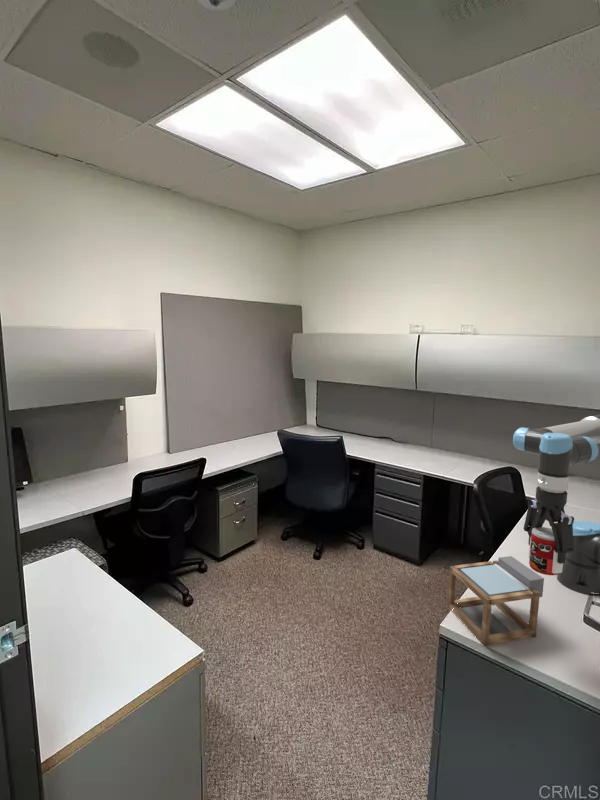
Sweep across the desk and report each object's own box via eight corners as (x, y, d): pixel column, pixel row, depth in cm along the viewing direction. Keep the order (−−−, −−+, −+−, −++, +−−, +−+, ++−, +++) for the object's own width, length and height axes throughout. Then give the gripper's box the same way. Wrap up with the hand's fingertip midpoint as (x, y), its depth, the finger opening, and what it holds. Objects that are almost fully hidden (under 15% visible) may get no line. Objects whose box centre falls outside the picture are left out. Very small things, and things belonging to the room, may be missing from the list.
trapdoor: (509, 572, 143) (510, 555, 142) (543, 597, 128) (544, 579, 128) (459, 578, 138) (460, 561, 137) (488, 605, 124) (490, 586, 123)
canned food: (523, 562, 124) (526, 526, 123) (549, 561, 124) (552, 526, 123) (539, 576, 116) (542, 539, 115) (566, 575, 117) (570, 538, 115)
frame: (493, 599, 145) (496, 560, 143) (535, 636, 127) (539, 592, 125) (447, 606, 141) (449, 566, 139) (483, 645, 123) (487, 600, 121)
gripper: (513, 478, 126) (507, 549, 129) (573, 503, 106) (564, 586, 110) (534, 476, 128) (528, 546, 131) (596, 500, 108) (587, 582, 111)
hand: (544, 564), depth 120 cm, fingers closed on canned food, 8 cm apart
